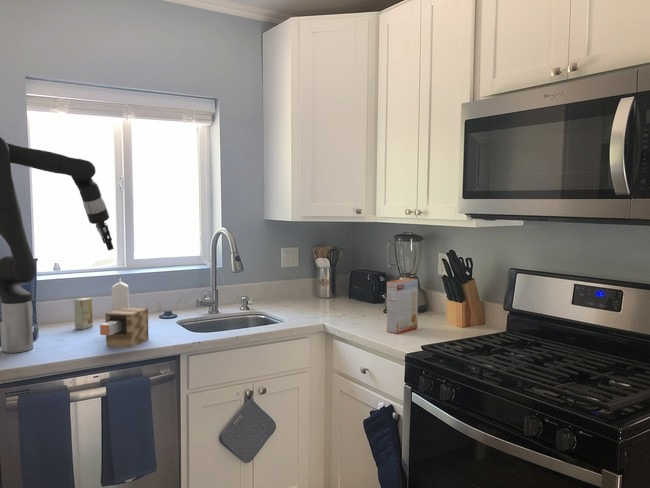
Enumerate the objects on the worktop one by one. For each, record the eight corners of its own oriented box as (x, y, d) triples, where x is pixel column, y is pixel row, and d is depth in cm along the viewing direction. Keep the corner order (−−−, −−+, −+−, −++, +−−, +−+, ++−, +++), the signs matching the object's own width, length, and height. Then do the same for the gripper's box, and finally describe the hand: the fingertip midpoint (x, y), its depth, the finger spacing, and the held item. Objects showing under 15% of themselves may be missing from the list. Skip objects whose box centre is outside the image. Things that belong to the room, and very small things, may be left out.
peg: (109, 335, 188) (109, 325, 187) (100, 334, 188) (99, 324, 188) (128, 327, 199) (128, 318, 199) (120, 327, 200) (119, 317, 200)
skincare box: (83, 329, 223) (82, 300, 222) (74, 329, 224) (73, 299, 223) (93, 326, 229) (92, 297, 228) (84, 325, 230) (83, 297, 229)
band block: (131, 347, 195) (130, 314, 194) (106, 346, 197) (105, 313, 196) (148, 339, 207) (147, 308, 206) (124, 338, 209) (124, 307, 208)
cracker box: (406, 326, 230) (407, 277, 229) (418, 328, 226) (418, 279, 224) (385, 331, 220) (386, 280, 219) (397, 334, 216) (397, 282, 215)
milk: (112, 335, 214) (110, 279, 212) (114, 331, 220) (112, 277, 218) (129, 334, 216) (127, 279, 214) (130, 330, 221) (128, 277, 220)
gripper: (82, 207, 214) (95, 243, 221) (89, 217, 202) (102, 255, 210) (102, 201, 217) (114, 237, 224) (109, 211, 206) (122, 248, 213)
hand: (108, 246), depth 217 cm, fingers open, 8 cm apart
